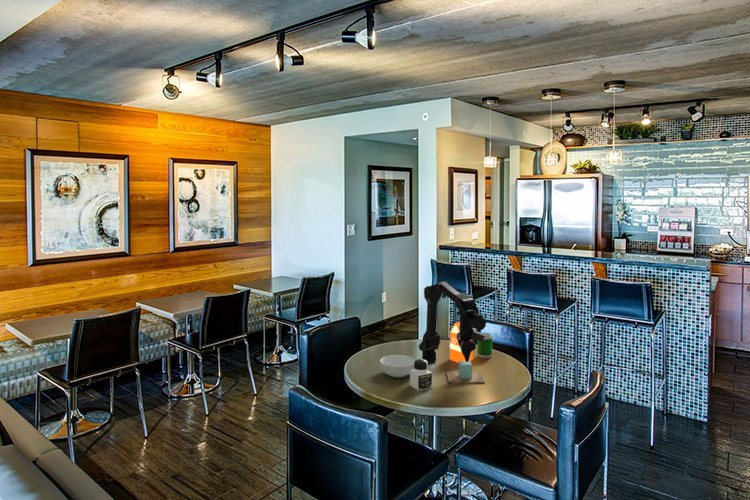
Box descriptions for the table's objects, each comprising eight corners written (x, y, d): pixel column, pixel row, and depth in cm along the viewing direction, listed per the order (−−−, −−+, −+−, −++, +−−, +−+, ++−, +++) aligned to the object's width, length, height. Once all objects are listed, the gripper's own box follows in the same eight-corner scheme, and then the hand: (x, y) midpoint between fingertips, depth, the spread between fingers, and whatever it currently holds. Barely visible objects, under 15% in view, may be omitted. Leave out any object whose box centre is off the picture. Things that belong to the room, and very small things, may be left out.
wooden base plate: (449, 383, 224) (449, 368, 224) (446, 373, 236) (446, 359, 236) (484, 383, 224) (485, 368, 223) (480, 374, 236) (480, 359, 235)
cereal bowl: (374, 378, 231) (374, 363, 230) (386, 367, 247) (386, 353, 246) (410, 383, 225) (410, 368, 225) (419, 370, 241) (419, 356, 240)
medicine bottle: (418, 391, 216) (418, 364, 215) (409, 385, 222) (409, 359, 221) (432, 388, 219) (432, 361, 218) (423, 382, 226) (423, 357, 224)
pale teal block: (460, 378, 228) (460, 364, 227) (458, 374, 233) (458, 360, 232) (471, 378, 227) (471, 364, 227) (469, 374, 233) (470, 360, 232)
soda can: (492, 359, 257) (492, 336, 256) (477, 358, 259) (477, 335, 257) (491, 354, 264) (492, 332, 263) (477, 353, 266) (477, 332, 265)
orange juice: (472, 360, 256) (473, 322, 254) (460, 363, 251) (460, 324, 249) (461, 356, 263) (462, 319, 260) (449, 359, 258) (449, 321, 256)
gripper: (487, 330, 218) (487, 365, 219) (479, 320, 236) (479, 352, 238) (462, 330, 218) (461, 365, 220) (456, 320, 237) (456, 352, 238)
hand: (465, 358), depth 229 cm, fingers open, 9 cm apart
